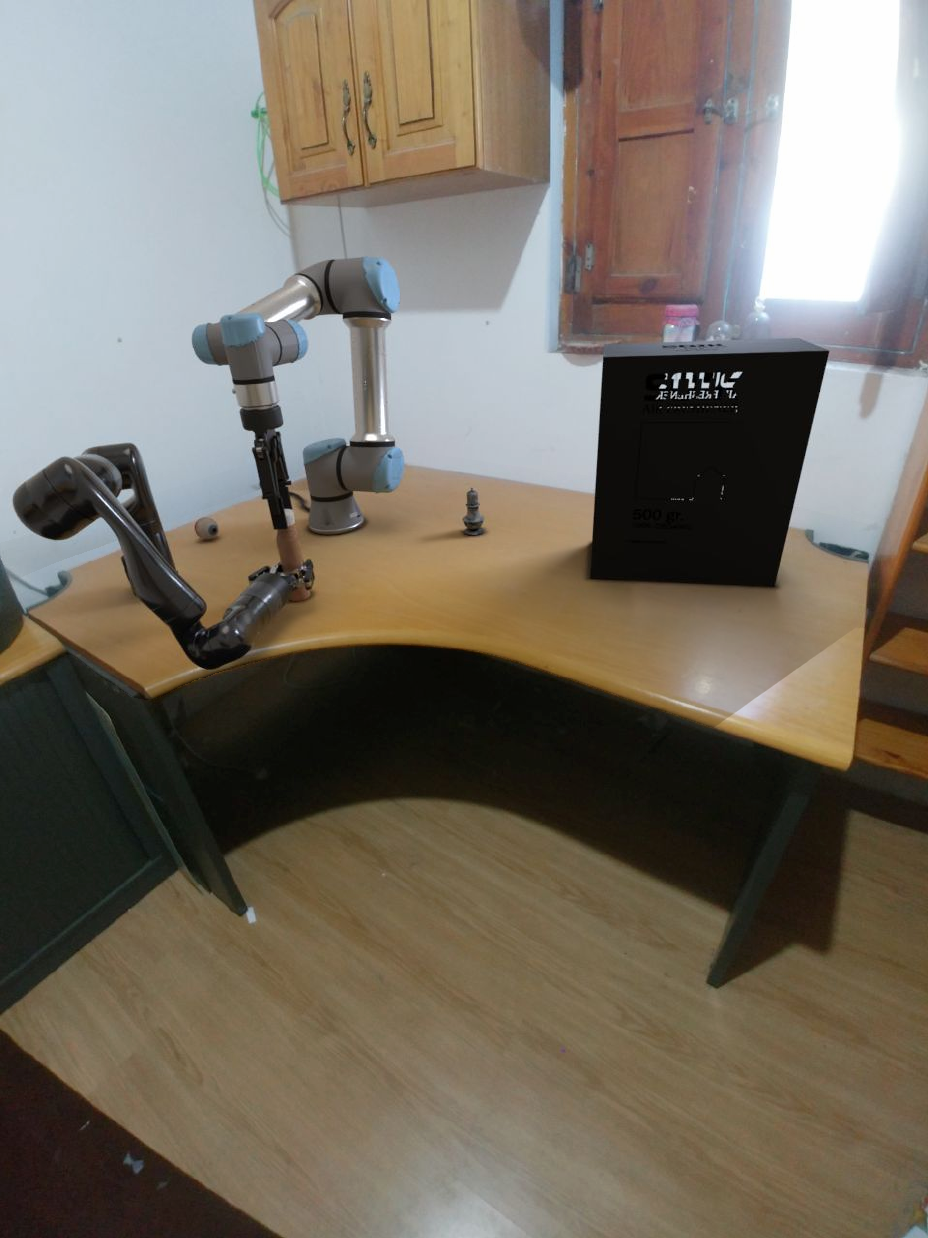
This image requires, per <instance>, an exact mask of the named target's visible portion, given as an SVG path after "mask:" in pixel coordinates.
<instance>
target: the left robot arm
mask: <svg viewBox="0 0 928 1238" xmlns="http://www.w3.org/2000/svg"><path fill="white" fill-rule="evenodd" d="M125 490H132V491H133V494H132V495H131V496H130V497H129V498H128V499H126V500H124V501H122V502H121V501H120V500H119V499H118V498H119V496H120V494H121V492H122V491H125ZM11 501H12V507H13V510H14V513H15V514H16V516H17V518H18V519H19V521H20V522H21V523H22V525H24V526H25V528H27V529H28V531H31V532H32V533H34V534H36V535H37V536H40V537H41V538H44V539H47V540H51V541H64V540H68V539H70V538H72V537H74V536H76V535H78V534H79V533H80V532H81V531H83V530H84V529H86V528H87V527H88V526H90V525H91V524H93V523H94V522H95V521H97V520H99V519H103V520H104V522H105V523H106V524H107V525H108V527H109V528H110V529H111V530H112V532H113V533H114V535H115V536H116V538H117V541H118V544H119V546H120V550H121V551H122V555H121V557H120V560H121V562H122V566H123V570H124V574H125V576H126V578H127V581H128V583H129V585H130V588H131V590H132V593H133V596H136V597H137V598H138V599H139V601H140V602H141V603H142V604H143V605H144V606H145V607H146V608H147V609H148V610H149V611H150V612H152V613H153V615H155V616H156V617H157V618H158V619H159V620H160V621H161V622H162V623H164V625H166V627H168V628H169V630H170V632H171V634H172V635H173V637H174V639H175V640H176V642H177V643H178V645H179V647H180V648H181V650H182V651H183V653H184V654H185V655H186V657H187V659H188V660H189V661H190V662H191V663H192V664H193V665H195V666H196V667H199V668H200V669H203V670H207V671H213V670H217V669H220V668H221V667H224V666H226V665H228V664H231V663H233V662H235V661H238V660H240V659H242V658H243V657H244V656H246V655H247V654H248V653H249V652H250V651H251V650H252V649H253V647H254V645H255V643H256V641H257V638H258V635H259V633H260V632H261V631H262V629H264V627H266V625H267V624H268V623H270V622H271V621H272V620H273V619H274V618H275V617H276V616H277V615H278V614H279V612H281V610H282V609H283V608H284V607H285V606H286V605H287V604H288V602H289V601H290V597H291V594H292V592H293V591H295V590H297V589H298V587H305V588H306V590H310V591H311V590H312V589H313V586H314V583H315V579H316V576H315V571H314V568H315V567H314V562H313V561H312V559H311V558H307V559H306V560H304V563H303V564H302V565H301V567H299V568H297V569H296V568H293V569H291V570H289V571H288V572H286V573H285V572H284V573H283V570H282V566H281V561H280V560H279V562H278V563H277V564H273V565H272V566H271V567H270V565H265V566H262V567H261V568H259V569H258V570H256V571H254V572H252V573H251V574H249V575H248V576H247V579H248V583H249V585H248V586H246V587H245V589H243V590H242V592H241V593H240V594H239V596H238V597H237V598H236V599H235V600H234V601H233V602H232V603H231V604H230V605H229V606H228V607H227V608H226V610H225V611H224V613H223V614H222V617H221V618H222V619H221V620H220V621H218V622H217V623H215V624H213V625H211V626H208V627H205V626H204V624H203V623H202V621H201V619H202V618H203V617H204V616H205V614H206V612H207V609H208V605H207V602H206V600H205V599H204V598H203V597H202V596H201V595H200V594H199V592H197V591H196V590H195V589H194V588H193V586H191V584H190V583H188V582H187V581H186V580H185V579H184V578H183V576H182V575H180V574H179V571H178V570H177V567H176V564H175V561H174V558H173V556H172V552H171V549H170V546H169V542H168V540H167V536H166V533H165V530H164V527H163V524H162V521H161V518H160V514H159V511H158V509H157V505H156V503H155V498H154V496H153V492H152V490H151V486H150V482H149V478H148V473H147V470H146V466H145V463H144V459H143V456H142V454H141V451H140V449H139V448H138V447H137V445H136V444H134V443H133V442H121V443H120V442H119V443H112V444H103V445H95V446H90V447H88V448H86V449H85V450H83V452H82V453H81V454H80V455H77V456H74V457H71V456H64V455H63V456H60V457H59V458H57V459H55V460H53V461H52V462H50V464H48V465H46V466H45V467H44V468H42V469H41V470H39V471H38V472H36V473H35V474H34V475H32V476H31V477H30V478H28V479H27V480H25V481H23V483H21V484H20V485H18V487H17V488H16V489H15V491H14V492H13V494H12V500H11ZM300 572H301V573H302V575H300ZM293 574H294V575H293Z"/></svg>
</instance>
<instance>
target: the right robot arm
mask: <svg viewBox="0 0 928 1238" xmlns="http://www.w3.org/2000/svg"><path fill="white" fill-rule="evenodd" d="M400 303H401V292H400V285H399V281H398V277H397V275H396V272H395V270H394V268H393V266H392V265H391V263H390V262H389V261H388V260H387V259H385V258H384V257H381V256H367V255H365V256H360V257H347V258H338V259H333V258H332V259H325V260H322V261H319V262H316V263H314V264H312V265H310V266H308V267H306V268H303V269H302V270H300V271H298V272H296V273H294V274H292V275H290V276H289V277H288V278H286V280H285V281H284V283H283V286H282V287H280V288H278V289H276V290H274V291H273V292H271V293H269V294H267V295H265V296H264V297H262V298H260V299H259V300H257V301H255V302H253V303H251V304H250V305H248V306H246V307H245V308H242V309H240V310H239V311H237V312H235V313H232V314H231V313H230V314H224V315H222V316H221V317H220V319H219V322H215V323H212V322H207V323H202V324H197V326H196V327H194V329H193V331H192V334H191V346H192V348H193V351H194V353H195V356H196V357H197V358H198V359H199V361H201V362H202V363H204V364H206V365H210V366H211V365H212V366H213V365H215V366H218V367H222V366H228V367H229V371H230V374H231V380H232V384H233V388H231V393H232V394H233V395H235V396H236V397H235V398H236V402H237V406H239V407H241V408H240V409H239V411H238V413H239V418H240V421H241V425H242V428H243V429H244V430H245V431H247V432H253V433H254V439H253V445H254V446H253V447H252V448H251V453H252V455H253V458H254V462H255V466H256V470H257V475H258V480H259V482H258V483H259V484H258V485H259V487H260V489H261V495H262V496H261V499H262V500H267V505H268V509H269V514H270V518H271V522H272V527H273V531H277V530H278V529H288V525H287V520H286V515H285V510H284V509H291V510H293V511H294V509H293V504H292V499H291V496H294V497H296V498H298V499H299V500H300V501H301V506H302V508H303V509H305V510H306V511H308V512H309V513H308V528H309V529H308V530H310V531H311V532H312V533H314V534H317V535H323V536H324V535H325V536H327V535H329V536H331V535H339V534H340V535H341V534H345V533H350V532H353V531H355V530H357V529H359V528H361V527H362V526H363V525H364V523H365V519H364V514H363V512H362V510H361V508H360V505H359V504H358V501H357V500H356V498H355V495H354V492H359V493H361V492H362V493H374V494H389V493H392V492H394V491H396V489H397V488H398V487H399V485H400V483H401V481H402V479H403V476H404V470H405V456H404V452H403V450H402V449H401V448H400V447H398V446H396V439H395V437H393V435H391V433H390V428H389V397H388V370H387V369H388V368H387V366H388V365H387V341H386V339H387V338H386V335H387V334H386V331H387V328H388V327H389V326H390V325H391V324H392V314H395V313H396V312H397V311H398V310H399V308H400ZM325 315H326V316H327V315H342V322H343V323H344V324H345V325H346V326H347V328H348V329H349V343H350V362H351V363H350V364H351V365H350V366H351V380H352V384H351V385H352V398H353V399H352V401H353V423H354V433H353V435H352V436H351V437H350V438H349V445H347V441H346V439H345V438H342V437H334V438H328V439H323V440H320V441H319V440H318V441H315V442H313V443H309V444H308V445H306V446H305V447H304V448H303V450H302V457H303V458H302V460H303V467H304V471H305V477H306V481H307V486H308V492H309V498H310V507H309V506H307V505H306V504H305V499H304V498H303V497H302V496H301V495H300V494H298V493H296V492H293V491H290V489H289V486H292V480H290V475H289V472H288V466H287V462H286V457H285V453H284V448H283V443H282V434H281V431H276V429H279V428H281V427H283V425H284V417H283V411H282V407H281V406H280V404H278V403H279V402H280V397H279V396H280V395H279V392H278V391H279V390H278V386H277V381H276V378H275V372H274V367H278V366H281V365H286V364H294V363H295V362H297V361H299V360H301V359H303V358H305V355H306V354H307V352H308V349H309V338H308V336H307V332H306V330H305V329H304V327H303V326H302V325H301V324H300V323H299V322H301V321H302V320H304V321H305V320H306V321H309V320H312V319H314V318H316V317H319V316H325Z"/></svg>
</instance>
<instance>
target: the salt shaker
mask: <svg viewBox="0 0 928 1238" xmlns="http://www.w3.org/2000/svg"><path fill="white" fill-rule="evenodd" d="M465 507H466V511H467V512H466V515H465V516H463V517H462V518H461V520H462V522H463V524H464V527H465V529H464V530H463V533H464V534H465V535H468V536H477V535H481V534H483V533H484V531H485V530H484V528H482V526H483V524H484V520H485V516H484V515H481V513H480V503H479V494H478V492H477V490H474V488H473V487H470V490H469V491H467V492H466V503H465Z"/></svg>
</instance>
